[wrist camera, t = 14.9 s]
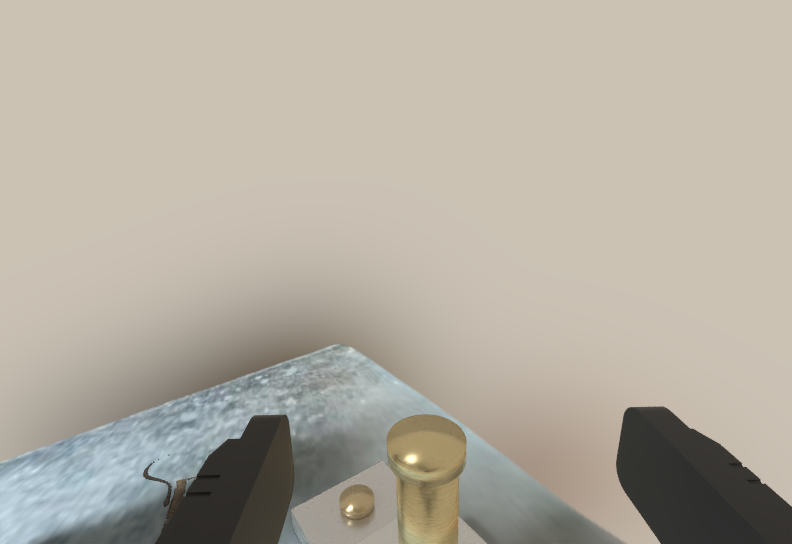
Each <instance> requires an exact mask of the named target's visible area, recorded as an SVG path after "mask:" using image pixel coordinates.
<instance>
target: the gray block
mask: <svg viewBox="0 0 792 544" xmlns="http://www.w3.org/2000/svg"><path fill="white" fill-rule="evenodd" d="M291 514H292V522H293V529H294V531H295V533H296V535H297V537H298V539H299V540H300V542H301V544H399V542H398V519H397V496H396V475H395V474H394V473H393V472H392V470H391V469H390V467H389V466H388V465H387V464H386V463H385V462H384V461H381V462H379V463H377V464H375V465H373V466H371V467H370V468H368V469H366V470H364V471H362V472H360V473H358V474H356V475H355V476H353V477H351V478H349V479H347V480H345V481H343V482H341V483H340V484H338V485H336V486H334V487H332V488H330V489H328V490H326V491H324V492H323V493H321V494H319V495H317V496H315V497H313V498H311V499H309V500H308V501H306V502H304V503H302V504H300V505H298V506H296V507H294V508H293V509H291ZM458 544H487V543H486V542H485V541H484V540H483V539H482V538H481V537H480V536H479V535H478V534H477V533H476V532H475V531H474V530H473V529H472V528H471V527H470V526H469V525H467V524H466V523H465V522H464V521H463V520H462V519H461V518H460V517H459V516H458Z"/></svg>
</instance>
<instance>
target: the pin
mask: <svg viewBox="0 0 792 544" xmlns="http://www.w3.org/2000/svg"><path fill="white" fill-rule="evenodd" d="M387 454H388V464H389V467H390V469H391V470H392V472H393V473H394V474H395V475H396V496H397V519H398V542H399V544H458V509H459V475H460V474H461V473H462V472H463V470H464V468H465V465H466V437H465V434H464V432H463V431H462V429H461V428H460V427H459V426H458V425H457V424H456V423H454V422H453V421H451V420H449V419H446V418H444V417H440V416H436V415H415V416H411V417H407V418H405V419H403V420H401V421H399V422H397V423H396V424H395V425H394V426H393V427H392V428H391V429H390V431H389V433H388V435H387Z"/></svg>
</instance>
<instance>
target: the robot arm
mask: <svg viewBox="0 0 792 544" xmlns="http://www.w3.org/2000/svg"><path fill="white" fill-rule="evenodd" d="M616 467H617V474H618V477H619V481H620V483H621V486H622V488H623V489H624V491H625V493H626V494H627V496H628V497H629V498H630V500H631V501H632V503H633V504H634V506H635V507H636V508H637V510H638V511H639V513H640V514H641V516H642V517H643V518H644V520H645V521H646V523H647V524H648V526H650V528H651V530H652V531H653V533H654V534H655V536H656V537H657V539H658V540H659V541H660V543H661V544H792V507H791V506H790V505H789V504H788V503H787V502H786V501H784V500H783V499H782V498H781V497H780V496H779V495H778V494H776V493H775V492H774V491H773V490H772V489H771V488H769V487H768V486H767V485H766V484H762V483H761V482H760V479H759V478H758V477H757V476H756V475H755V474H754V473H752V472H751V471H750V470H749V469H747V467H743V466H742V463H741V462H740V461H739V460H737V459H736V458H735V457H734V456H733V455H731V453H729V452H728V451H727V450H726V449H725V448H724V447H722V446H721V445H720V444H719V443H717V442H715V441H713V440H712V439H710V438H708V437H706V436H704V435H703V434H701V433H699V432H697V431H696V430H694V429H690V428H689V427H687V426H686V425H685V424H684V423H683V422H682V421H681V420H680V419H679V418H678V417H677V416H675V415H674V414H673V413H672V412H671V411H670V410H668V409H667V408H665V407H630V408H628V409H627V410H626V411H625V413H624V417H623V423H622V429H621V436H620V442H619V448H618V454H617V461H616ZM293 485H294V464H293V455H292V446H291V437H290V428H289V420H288V417H287V415H256V416H253V417H252V418H251V420H250V421H249V423H248V425H247V427H246V429H245V431H244V433H243V434H242V436H241V438H240V439H228V440H226V441H225V442H224V443H223V444H222V445H221V446H220V447H218V448H217V449H216V450H215V451H214V452H213V453H212V454H210V455H209V456H208V458H207V460H206V461H205V463H204V465H203V466H202V468H201V469H200V471H199V473H198V474H197V478H196V480H194V481H193V483H192V484H191V486H190V487H189V489H188V491H187V492H186V497H183V499H182V501H181V502H180V504H179V505H178V507H177V509H176V510H175V512H174V514H173V515H172V517H171V519H170V520H169V522H168V523H167V525H166V527H165V528H164V530H163V532H162V533H161V535H160V537H159V538H158V540H157V541H156V543H155V544H278V541H279V538H280V535H281V531H282V528H283V524H284V521H285V518H286V514H287V511H288V507H289V504H290V501H291V497H292V492H293Z"/></svg>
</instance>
